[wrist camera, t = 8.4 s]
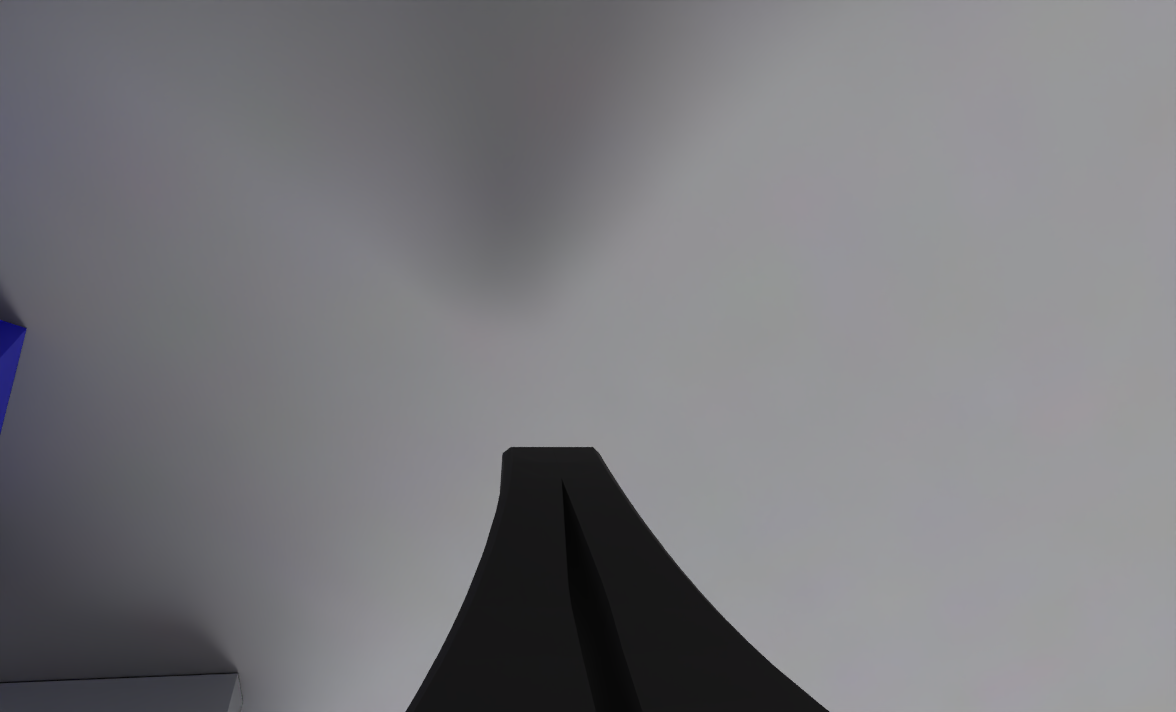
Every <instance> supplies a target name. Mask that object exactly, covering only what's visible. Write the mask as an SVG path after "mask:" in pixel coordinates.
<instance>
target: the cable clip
mask: <svg viewBox="0 0 1176 712" xmlns="http://www.w3.org/2000/svg"><path fill="white" fill-rule="evenodd" d="M26 329H27V328H24V327H21V326H18V325H15V324H12V323H9V322H6V321H3V320H0V433H1V429H2V425H3V421H4V417H5V413H6V409H7V405H8V401H9V397H10V393H11V389H12V385H13V381H14V377H15V373H16V369H17V365H18V361H19V357H20V353H21V349H22V345H23V341H24V337H25V333H26Z"/></svg>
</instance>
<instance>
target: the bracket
mask: <svg viewBox="0 0 1176 712" xmlns="http://www.w3.org/2000/svg"><path fill="white" fill-rule="evenodd" d="M242 704H243V699H242V694H241V688H240V683H239V677H238V674H215V675H191V676H167V677H143V678H119V679H95V680H71V681H47V682H23V683H0V712H241V708H242Z"/></svg>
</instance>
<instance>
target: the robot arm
mask: <svg viewBox="0 0 1176 712" xmlns="http://www.w3.org/2000/svg"><path fill="white" fill-rule="evenodd" d="M406 712H829V711H828V710H827V709H825V708H824V707H823V706H822V705H820V704H819V703H818V702H817V701H816V700H814V699H813V698H812V697H811V696H810V695H808V694H807V693H806V692H805V691H804V690H802V689H801V688H800V687H799V686H798V685H796V684H795V683H794V682H793V681H792V680H790V679H789V678H788V677H787V676H786V675H784V674H783V673H782V672H781V671H780V670H778V669H777V668H776V667H775V666H774V665H772V664H771V663H770V662H769V661H768V660H767V659H766V658H765V657H764V656H763V655H762V654H761V653H760V652H758V651H757V650H756V649H755V648H754V647H753V646H752V645H751V644H750V643H749V642H748V641H747V640H746V639H745V638H744V637H743V636H742V635H741V634H740V633H739V632H738V631H737V630H736V629H735V628H734V627H733V626H732V625H731V624H730V623H729V622H728V621H727V620H726V619H725V618H724V617H723V616H722V615H721V614H720V613H719V612H718V611H717V610H716V609H715V608H714V606H713V605H712V604H711V603H710V602H709V601H708V600H707V599H706V598H705V597H704V595H703V594H702V593H701V592H700V591H699V590H698V589H697V587H696V586H695V585H694V584H693V583H692V582H691V580H690V579H689V578H688V577H687V576H686V575H685V573H684V572H683V571H682V570H681V569H680V568H679V566H678V565H677V564H676V563H675V561H674V560H673V559H672V558H671V556H670V555H669V554H668V553H667V551H666V550H665V549H664V547H663V546H662V545H661V543H660V542H659V541H658V539H657V538H656V537H655V536H654V534H653V533H652V532H651V530H650V529H649V528H648V526H647V525H646V524H645V522H644V521H643V519H642V518H641V517H640V515H639V514H638V513H637V511H636V510H635V508H634V507H633V505H632V504H631V502H630V501H629V499H628V498H627V497H626V495H625V494H624V492H623V491H622V489H621V488H620V486H619V485H618V483H617V481H616V480H615V478H614V477H613V475H612V474H611V472H610V470H609V469H608V467H607V466H606V464H605V462H604V461H603V459H602V457H601V456H600V454H599V453H598V452H597V451H596V450H595V449H594V448H593V447H511V448H509V449H508V450H507V451H505V452H504V453H503V455H502V470H501V486H500V496H499V501H498V505H497V509H496V513H495V517H494V520H493V523H492V526H491V530H490V533H489V536H488V540H487V543H486V546H485V549H484V552H483V555H482V557H481V560H480V562H479V565H478V568H477V570H476V573H475V575H474V578H473V580H472V583H471V585H470V588H469V590H468V593H467V595H466V598H465V600H464V602H463V604H462V607H461V609H460V611H459V613H458V616H457V618H456V620H455V622H454V624H453V626H452V628H451V630H450V632H449V634H448V636H447V638H446V640H445V642H444V644H443V646H442V648H441V650H440V652H439V654H438V656H437V658H436V659H435V661H434V663H433V665H432V667H431V668H430V670H429V672H428V674H427V676H426V677H425V679H424V681H423V683H422V685H421V686H420V688H419V690H418V692H417V694H416V695H415V697H414V699H413V700H412V702H411V704H410V705H409V707H408V709H407V710H406Z"/></svg>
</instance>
